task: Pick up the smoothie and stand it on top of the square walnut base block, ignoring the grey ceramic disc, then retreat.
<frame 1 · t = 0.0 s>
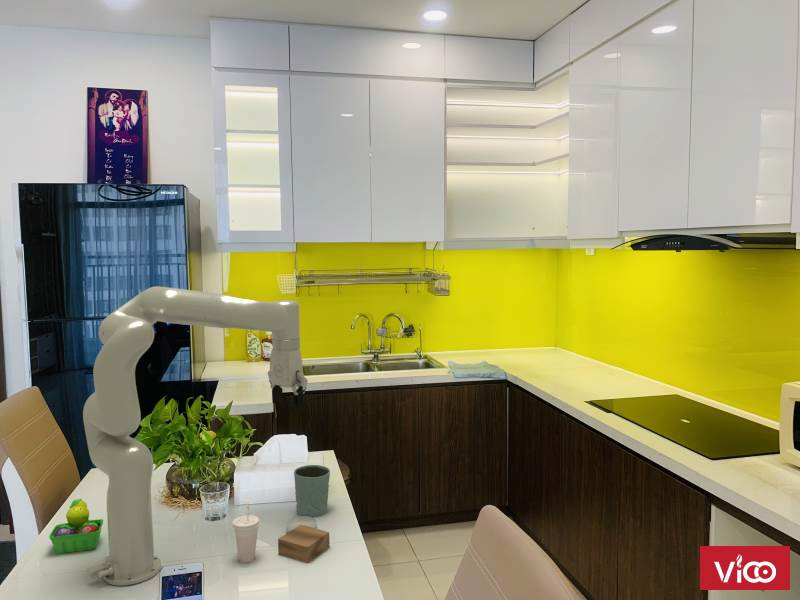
hand: (287, 405, 178), 31 cm above the table, fingers open, 9 cm apart
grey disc: (301, 531, 169), on the table
grey-green hollow tall cylinder: (312, 512, 182), on the table
fruit basket: (78, 546, 162), on the table
smoothie: (247, 559, 155), on the table
walnut base: (304, 550, 159), on the table
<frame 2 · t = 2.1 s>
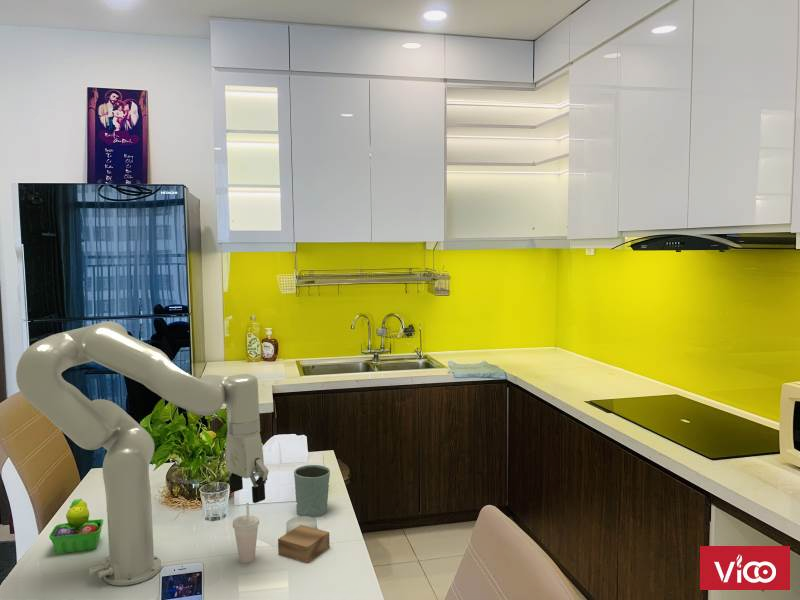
hand: (247, 495, 154), 16 cm above the table, fingers open, 9 cm apart
nothing on the table moved.
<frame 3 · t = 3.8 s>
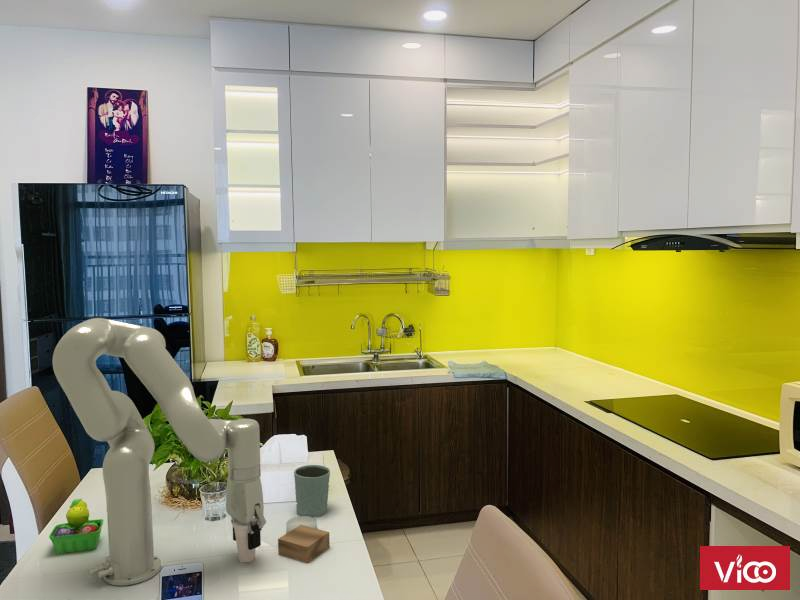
hand: (246, 542, 155), 4 cm above the table, fingers closed on smoothie, 5 cm apart
smoothie: (247, 559, 155), on the table, touching gripper
everything else where it was.
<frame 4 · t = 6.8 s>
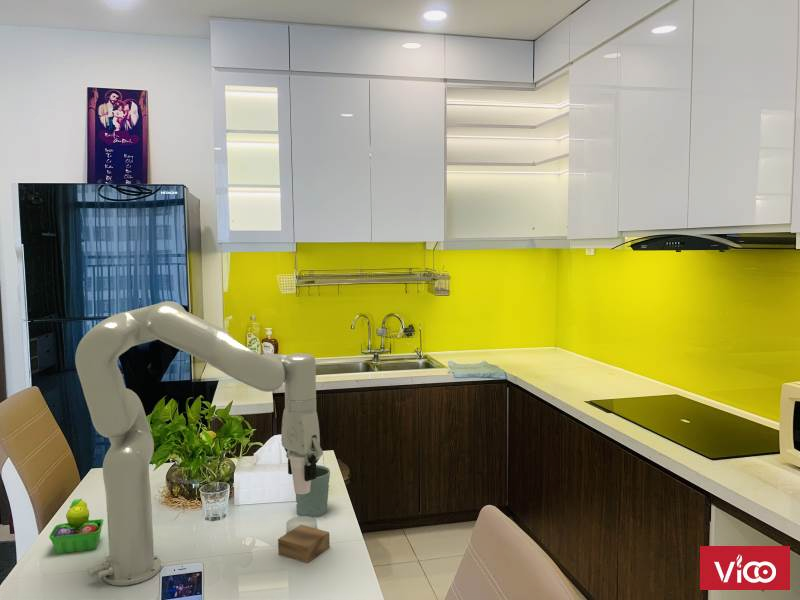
hand: (302, 475, 157), 19 cm above the table, fingers closed on smoothie, 5 cm apart
smoothie: (302, 492, 157), point 15 cm above the table, touching gripper
everything else where it was.
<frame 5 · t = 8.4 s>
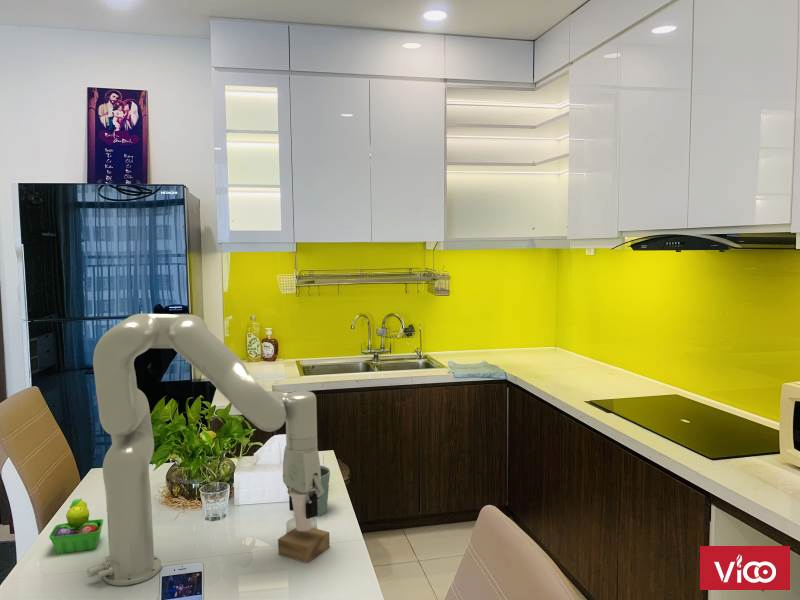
hand: (303, 512, 158), 10 cm above the table, fingers closed on smoothie, 5 cm apart
smoothie: (303, 528, 158), point 6 cm above the table, touching gripper
everything else where it was.
when the fingers open (9 cm above the table, at t = 9.6 s): smoothie stays where it is, resting on walnut base.
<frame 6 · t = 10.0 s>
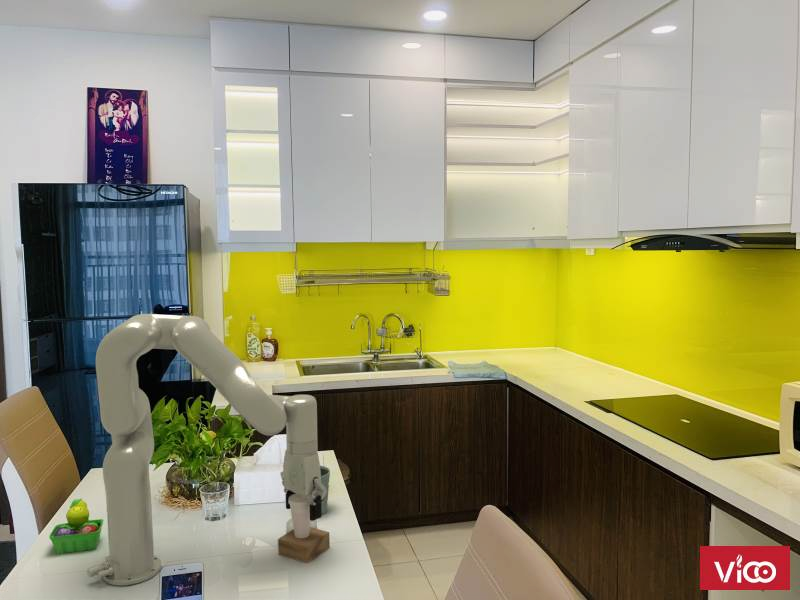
hand: (303, 513, 158), 10 cm above the table, fingers open, 9 cm apart
smoothie: (302, 535, 159), point 4 cm above the table, touching walnut base
everything else where it was.
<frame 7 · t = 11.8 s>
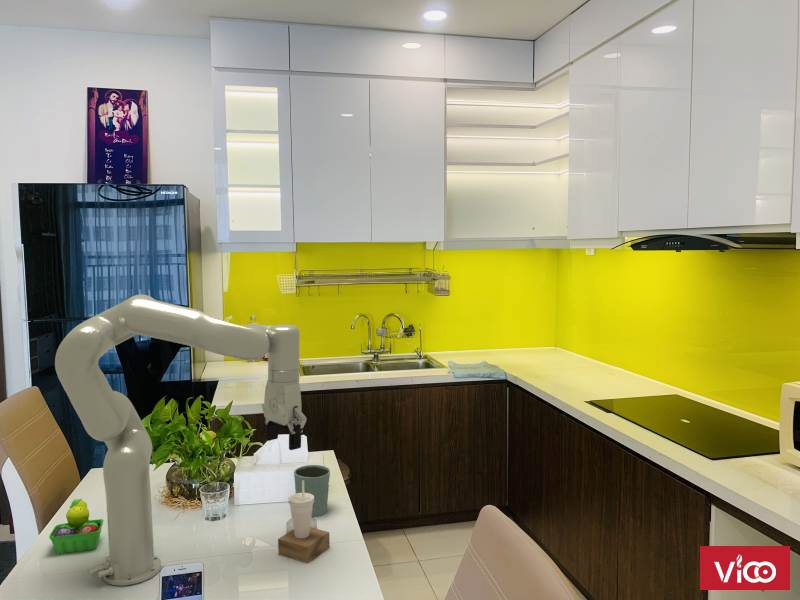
hand: (283, 444, 157), 27 cm above the table, fingers open, 9 cm apart
nothing on the table moved.
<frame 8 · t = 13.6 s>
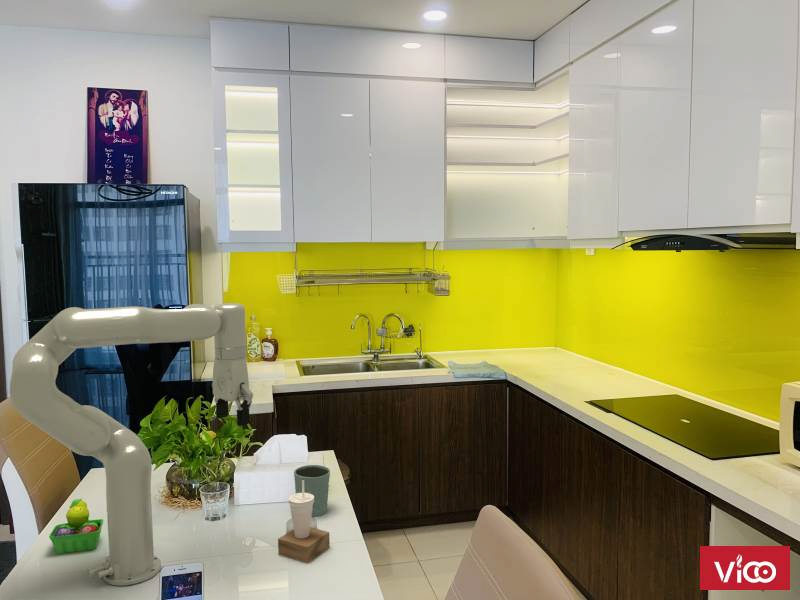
hand: (232, 421, 159), 32 cm above the table, fingers open, 9 cm apart
nothing on the table moved.
at the end: smoothie 0.6 cm off-centre on the walnut base, point 3.8 cm above the walnut base's base; smoothie tilted 0°; the gripper is holding nothing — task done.
